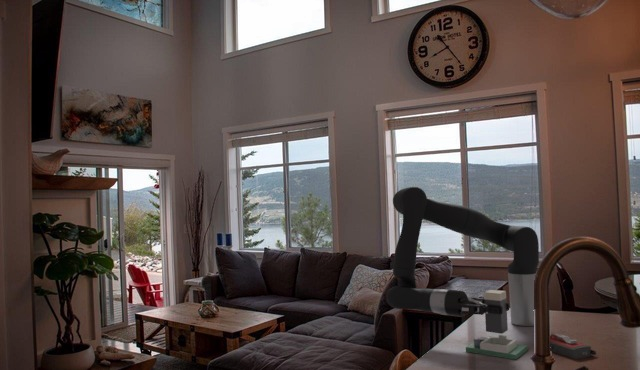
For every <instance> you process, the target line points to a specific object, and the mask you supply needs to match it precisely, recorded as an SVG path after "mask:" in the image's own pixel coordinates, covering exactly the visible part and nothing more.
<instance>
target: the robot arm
mask: <svg viewBox="0 0 640 370" xmlns="http://www.w3.org/2000/svg"><path fill="white" fill-rule="evenodd" d="M392 205H393V207H394V209H395V211H397V212H398V213H399V214H400V215H402V225H401V231H400V235H399V237H398V241H397V243H396V247H395V250H394V258H393V265H392V266H393V268H392V275H393V277H395V278H396V279H397V285H395V286H392V287H391V288H389V289H388V290H387V292H386V295H385V299H386V302H387V304H388V305H389V307H391V308H394V309H398V310H416V311H422V312H427V313H435V314H439V315H443V316H452V317H460V318H463V317H465V316H466V315H479V316H483V315H485V314H488V313H493V314H503V307H502V306H497V305H489V306H488V304H485V299H484V297H483V296H479V297H476V296H471V297H470V298H469V297H468V294H467V293H466V292H465V291H463V290H458V289H457V290H456V289H446V288H445V289H443V288H441V289H440V288H438V289H435V288H417V285H416V284H417V283H416V277H415V274H416V273H415V272H416V262H417V255H418V254H417V252H418V251H417V250H418V245H419V238H420V234H421V233H420V232H421V228H422V225H423V224H422V223H423V220H424V221H428V222H431V223H433V224H435V225H438V226H440V227H442V228H445V229H447V230H451V231H452V232H455V233H458V234H460V235H464V236H467V237H471V238H474V239H478V240H483V241H487V242H489V243H493V244H494V245H497V246H499V247H500V248H503V249H505V250H508V251H509V252H513V260H512V262H510V263H509V264H508V265H507V273H508V274H507V276H508V277H507V278H508V279H507V280H508V291H509V294H508V295H509V302H506V306H507V312H509V311H510V312H509V313H510V323H511V324H512V325H516V326H522V327H523V326H524V327H533V326H534V311H533V310H534V280H535V275H536V271H537V270H538V266H539V262H540V259H539V258H540V255H539V253H540V250H539V249H540V248H539V238H538V235H537V232H536V231H535V230H534V228H533V227H529V226H525V225H523V226H522V225H510V224H507V223H506V224H504V223H501V222H498V221H496V220H495V221H494V220H492V219H491V218H490V217H488V216H486V215H485V214H484V213H482V212H480V211H479V210H476V209H473V208H471V207H469V206H465V205H461V204H457V203H456V204H455V203H451V202H445V201H436V200H434V199H431V198H428V196H427V194H426V193H425V191H424V189H422V188H420V187H419V186H408V187H405V188H402V189H400V190H398V191H397V192H395V194H394V195H393V198H392ZM537 272H538V271H537ZM534 327H535V326H534Z"/></svg>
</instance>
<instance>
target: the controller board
mask: <svg viewBox="0 0 640 370" xmlns="http://www.w3.org/2000/svg"><path fill="white" fill-rule="evenodd" d="M528 348H529V346H528V345H527V344H526V345H525V344H518V341H517V339H512V338H507V335H503V334H499V335H498V336H488V337H486V336H480V337H479V338H473V342H472V343H471V344H469V345H467V346H466V347H465V352H467V353H474V354H478V355H479V354H481V355H486V356H494V357H498V358H499V357H500V358H506V359H511V360H517V359H519V358H520V357H521V356H523V355H524V354H525V353H526V352H527V351H529V349H528Z"/></svg>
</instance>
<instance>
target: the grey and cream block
mask: <svg viewBox="0 0 640 370" xmlns="http://www.w3.org/2000/svg"><path fill="white" fill-rule="evenodd" d="M483 295H484V299H485V304H488V306H489V305H497V306H502V307H503V314H493V313H488V314H485V313H484V315H485V317H484V318H485V332H488V333H494V334H499V335H503V334H504V333H506V332H508V330H509V328H508V311H507V306H506V303H507V291H506V290H499V289H498V290H497V289H489V290H485V291H484V293H483Z"/></svg>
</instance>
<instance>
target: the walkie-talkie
mask: <svg viewBox="0 0 640 370" xmlns="http://www.w3.org/2000/svg"><path fill="white" fill-rule="evenodd" d="M549 336H550V347H551V348H550V351H549V352H552V353H555V354H558V355H561V356H564V357H567V358H570V359H575V360H578V359H583V358H589V357H592V355H597V351H596V350H593V349H592V347H591V346H590V345H587V344H584V343H580V342H578V340H577V339H571V337H569V336H568V335H565V334H562V333H561V334H560V333H554V334H553V333H552V334H551V335H549Z"/></svg>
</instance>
